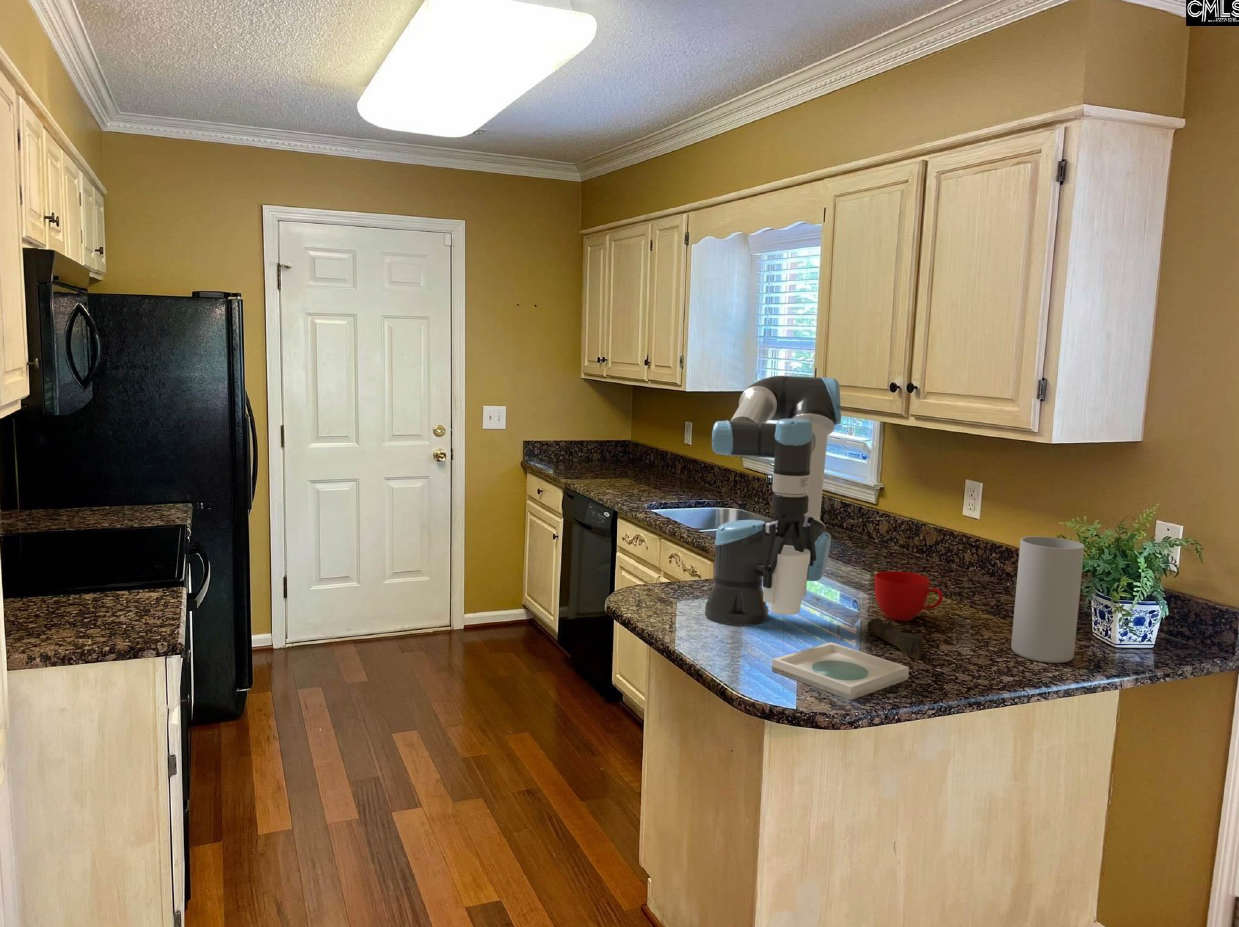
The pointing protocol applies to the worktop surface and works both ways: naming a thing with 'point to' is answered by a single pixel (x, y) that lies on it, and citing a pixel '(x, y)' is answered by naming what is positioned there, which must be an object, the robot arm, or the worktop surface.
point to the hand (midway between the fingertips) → (784, 598)
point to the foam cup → (790, 580)
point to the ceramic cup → (903, 594)
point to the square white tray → (840, 670)
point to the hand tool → (897, 638)
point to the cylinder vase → (1047, 599)
